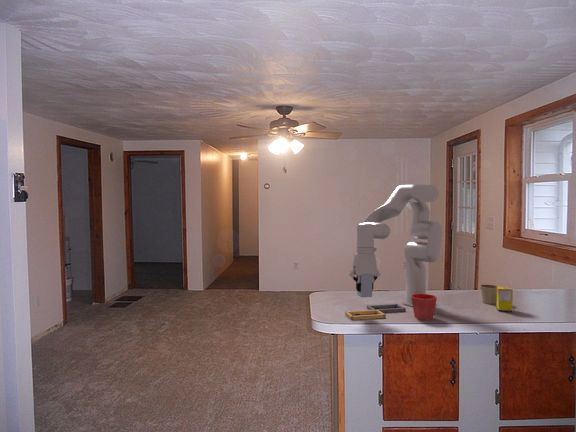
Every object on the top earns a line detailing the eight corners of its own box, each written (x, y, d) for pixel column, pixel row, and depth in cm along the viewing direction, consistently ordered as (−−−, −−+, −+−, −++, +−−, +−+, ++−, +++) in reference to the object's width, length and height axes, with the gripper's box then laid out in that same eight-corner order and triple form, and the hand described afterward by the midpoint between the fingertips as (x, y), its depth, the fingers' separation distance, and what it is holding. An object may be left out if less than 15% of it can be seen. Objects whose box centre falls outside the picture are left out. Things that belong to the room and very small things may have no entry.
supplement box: (509, 309, 191) (510, 286, 191) (512, 312, 186) (512, 289, 185) (496, 308, 193) (496, 286, 193) (498, 311, 188) (498, 288, 187)
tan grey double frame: (397, 306, 196) (397, 303, 196) (414, 316, 180) (414, 312, 180) (339, 310, 190) (339, 307, 190) (351, 320, 174) (351, 316, 174)
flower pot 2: (479, 304, 201) (480, 287, 201) (478, 300, 210) (478, 283, 210) (500, 306, 198) (501, 288, 197) (498, 301, 206) (498, 285, 206)
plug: (367, 294, 182) (367, 271, 182) (372, 297, 177) (372, 272, 177) (357, 294, 181) (357, 271, 181) (361, 297, 176) (361, 273, 176)
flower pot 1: (407, 314, 183) (407, 293, 182) (430, 314, 183) (430, 293, 183) (416, 321, 172) (416, 299, 172) (440, 320, 173) (441, 298, 173)
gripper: (379, 249, 184) (378, 288, 185) (344, 250, 181) (343, 290, 181) (386, 251, 177) (385, 292, 177) (350, 252, 173) (349, 293, 174)
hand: (364, 290), depth 179 cm, fingers closed on plug, 5 cm apart
